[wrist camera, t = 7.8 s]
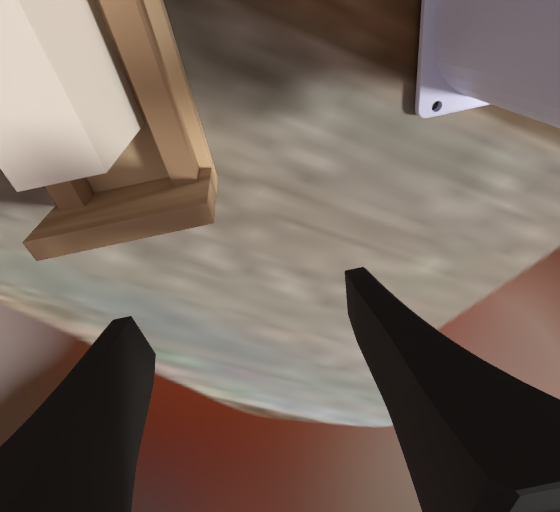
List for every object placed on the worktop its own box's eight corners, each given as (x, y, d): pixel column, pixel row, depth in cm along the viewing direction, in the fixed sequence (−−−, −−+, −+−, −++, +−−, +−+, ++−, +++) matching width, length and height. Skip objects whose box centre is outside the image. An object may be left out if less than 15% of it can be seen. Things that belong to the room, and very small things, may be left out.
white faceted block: (61, -83, 12) (-60, -151, 7) (144, 123, 16) (106, 172, 11) (-31, -63, 12) (-215, -115, 7) (77, 138, 16) (9, 193, 11)
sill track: (-104, -92, 12) (-279, -147, 8) (119, -143, 12) (60, -224, 8) (78, 207, 19) (36, 260, 15) (217, 177, 19) (213, 223, 15)
